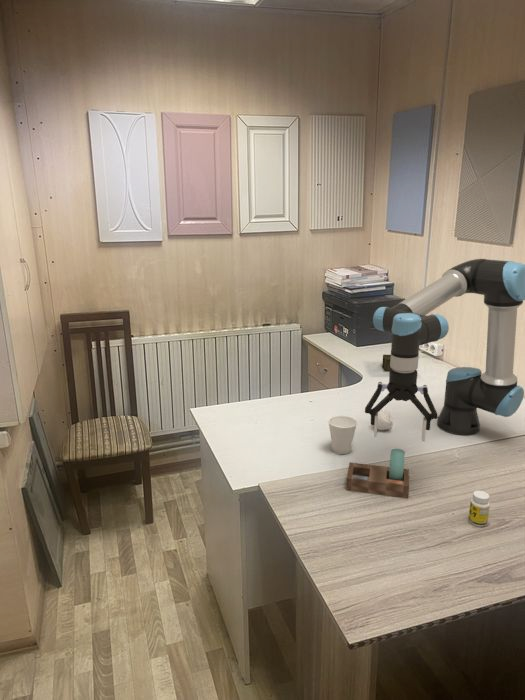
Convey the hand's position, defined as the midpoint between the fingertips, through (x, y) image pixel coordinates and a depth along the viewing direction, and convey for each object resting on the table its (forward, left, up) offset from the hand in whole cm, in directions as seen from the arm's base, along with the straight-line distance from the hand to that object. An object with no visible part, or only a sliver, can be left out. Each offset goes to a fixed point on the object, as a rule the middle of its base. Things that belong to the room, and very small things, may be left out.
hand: (399, 437), depth 151 cm
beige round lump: (+5, -41, -17) cm, 44 cm away
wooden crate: (+3, -114, -17) cm, 115 cm away
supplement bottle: (-22, +12, -17) cm, 30 cm away
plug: (0, 0, -17) cm, 17 cm away
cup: (+18, -20, -17) cm, 32 cm away
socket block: (+5, 0, -17) cm, 17 cm away
